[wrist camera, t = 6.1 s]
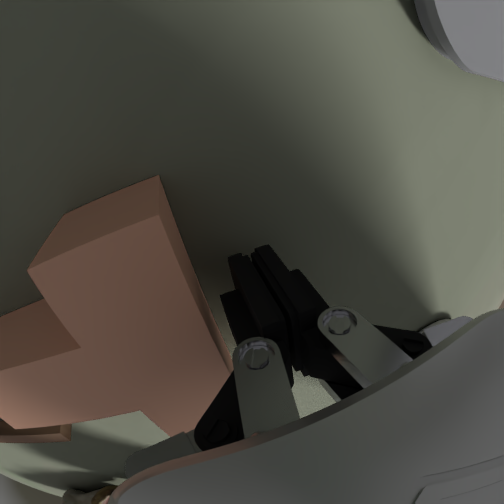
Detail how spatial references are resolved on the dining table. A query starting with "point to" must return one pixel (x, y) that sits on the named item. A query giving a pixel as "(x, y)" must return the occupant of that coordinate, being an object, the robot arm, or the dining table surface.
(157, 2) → the dining table surface
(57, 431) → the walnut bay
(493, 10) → the tablet
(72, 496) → the ceramic sculpture
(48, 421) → the t block
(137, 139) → the dining table surface
